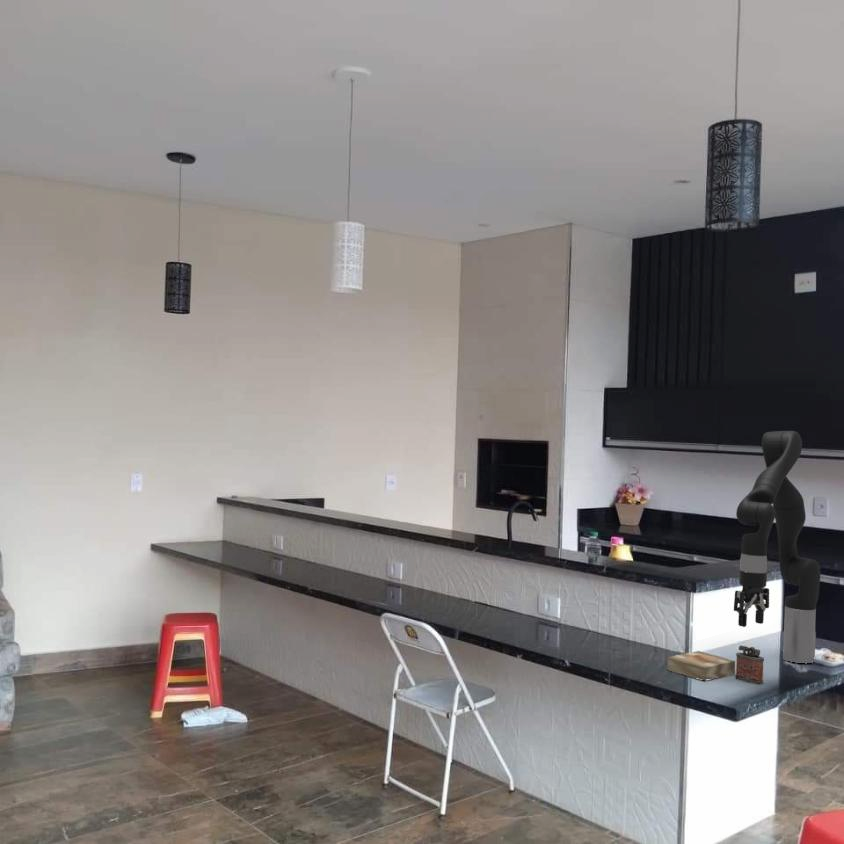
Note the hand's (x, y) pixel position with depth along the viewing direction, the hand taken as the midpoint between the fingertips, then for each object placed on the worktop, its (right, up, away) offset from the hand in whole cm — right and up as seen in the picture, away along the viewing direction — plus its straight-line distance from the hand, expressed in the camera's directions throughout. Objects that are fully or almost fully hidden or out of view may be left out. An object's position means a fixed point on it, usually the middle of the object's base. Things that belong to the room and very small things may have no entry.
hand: (750, 624), depth 262 cm
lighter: (-1, -17, 0) cm, 17 cm away
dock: (-12, -16, +7) cm, 22 cm away
